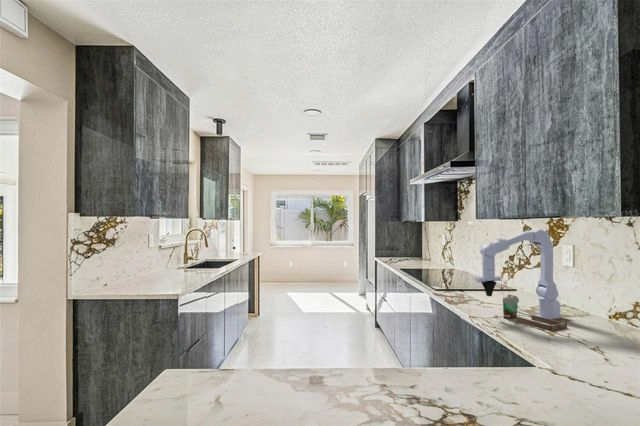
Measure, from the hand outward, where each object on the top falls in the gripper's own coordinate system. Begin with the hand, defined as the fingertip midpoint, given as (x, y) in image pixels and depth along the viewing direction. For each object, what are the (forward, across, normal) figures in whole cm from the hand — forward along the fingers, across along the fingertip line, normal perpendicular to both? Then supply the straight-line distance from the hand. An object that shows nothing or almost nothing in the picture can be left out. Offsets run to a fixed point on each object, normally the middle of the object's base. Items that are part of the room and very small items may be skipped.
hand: (489, 296), depth 191 cm
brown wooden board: (+10, -10, +20) cm, 25 cm away
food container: (+11, -10, +5) cm, 15 cm away
